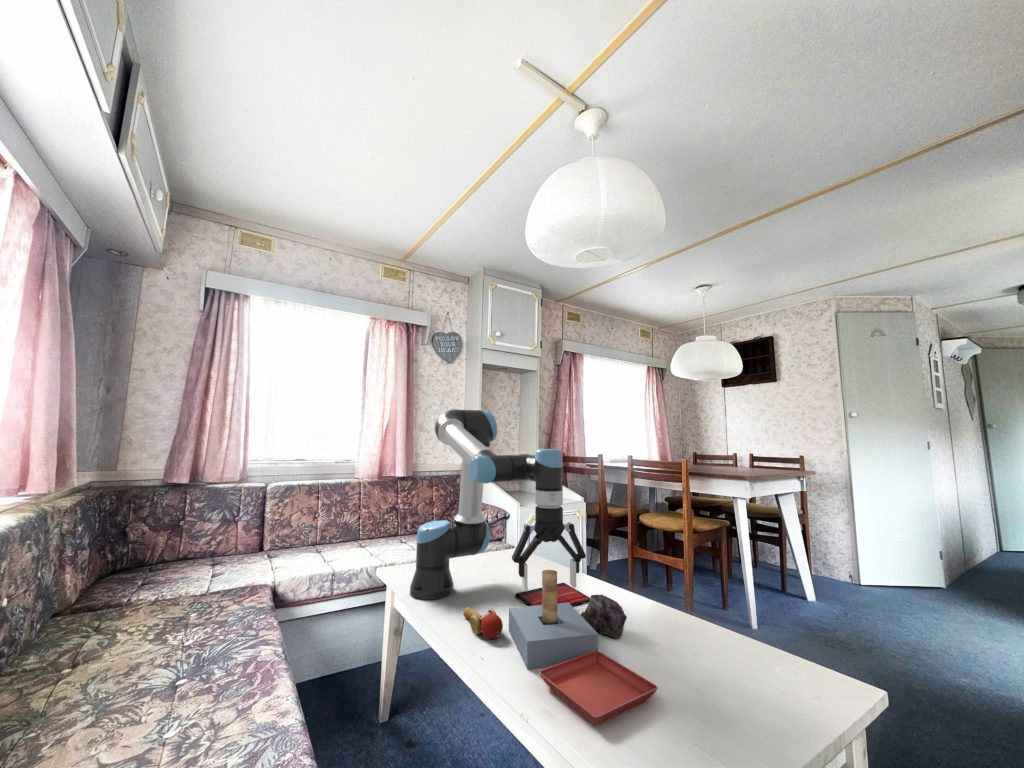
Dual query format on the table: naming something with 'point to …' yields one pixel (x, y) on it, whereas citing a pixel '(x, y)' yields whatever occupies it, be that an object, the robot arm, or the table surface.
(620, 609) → the rock
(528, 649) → the board
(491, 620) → the kendama
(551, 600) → the peg
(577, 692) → the plant saucer
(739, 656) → the table surface
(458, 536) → the robot arm
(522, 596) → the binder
